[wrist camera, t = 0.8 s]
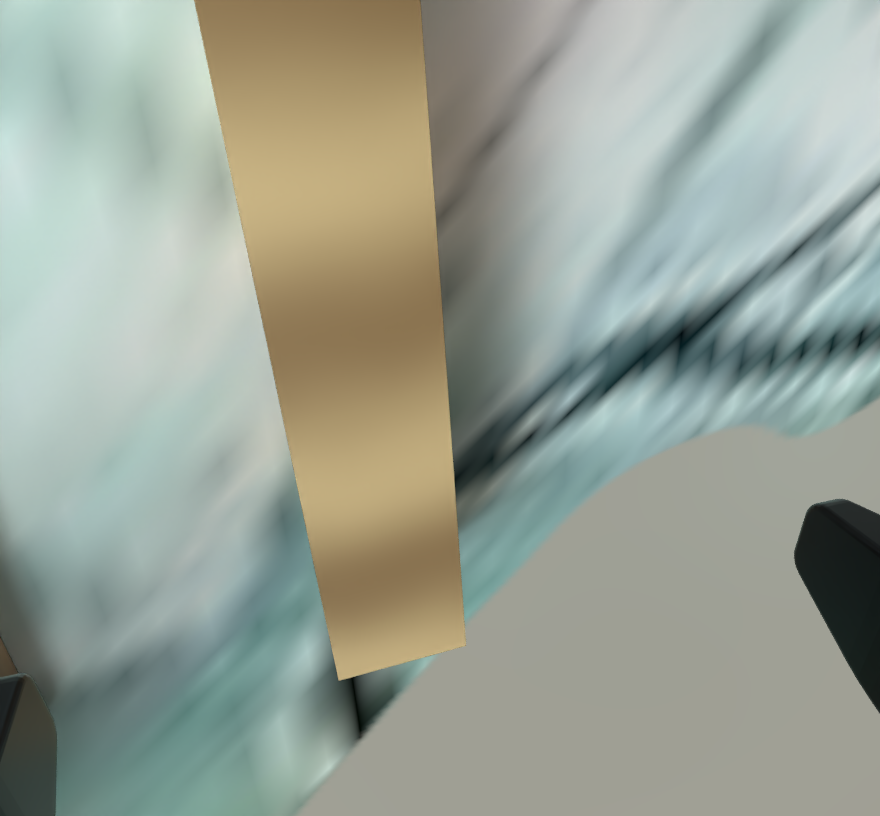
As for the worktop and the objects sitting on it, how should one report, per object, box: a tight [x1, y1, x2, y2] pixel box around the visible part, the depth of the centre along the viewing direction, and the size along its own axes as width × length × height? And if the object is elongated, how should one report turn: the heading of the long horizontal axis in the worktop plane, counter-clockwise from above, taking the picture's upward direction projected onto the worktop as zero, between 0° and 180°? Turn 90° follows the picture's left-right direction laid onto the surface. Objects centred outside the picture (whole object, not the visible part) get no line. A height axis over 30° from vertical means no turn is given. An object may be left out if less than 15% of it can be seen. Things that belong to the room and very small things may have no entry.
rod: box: [194, 0, 466, 681], centre depth 17 cm, size 20×4×4 cm, turn 4°
